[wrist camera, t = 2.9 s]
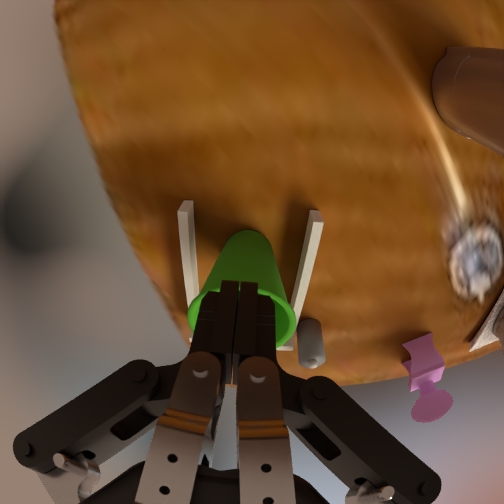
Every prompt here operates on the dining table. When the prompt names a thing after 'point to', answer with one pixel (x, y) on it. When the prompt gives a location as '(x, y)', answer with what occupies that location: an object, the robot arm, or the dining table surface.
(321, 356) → the bay
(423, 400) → the toy chair
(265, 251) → the cup
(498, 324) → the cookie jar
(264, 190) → the dining table surface
